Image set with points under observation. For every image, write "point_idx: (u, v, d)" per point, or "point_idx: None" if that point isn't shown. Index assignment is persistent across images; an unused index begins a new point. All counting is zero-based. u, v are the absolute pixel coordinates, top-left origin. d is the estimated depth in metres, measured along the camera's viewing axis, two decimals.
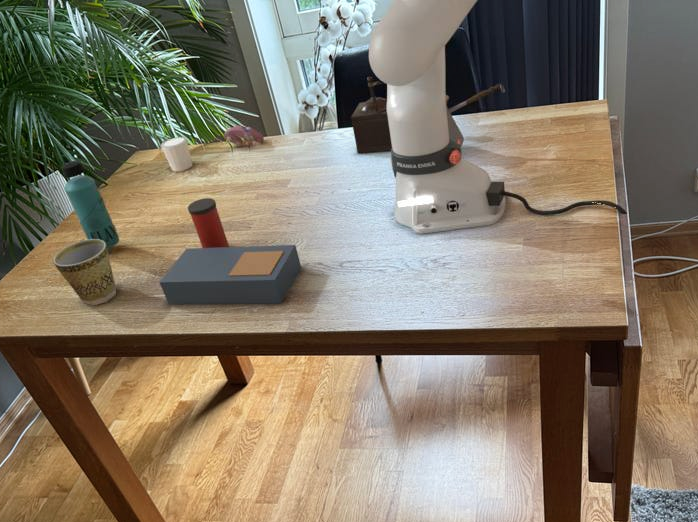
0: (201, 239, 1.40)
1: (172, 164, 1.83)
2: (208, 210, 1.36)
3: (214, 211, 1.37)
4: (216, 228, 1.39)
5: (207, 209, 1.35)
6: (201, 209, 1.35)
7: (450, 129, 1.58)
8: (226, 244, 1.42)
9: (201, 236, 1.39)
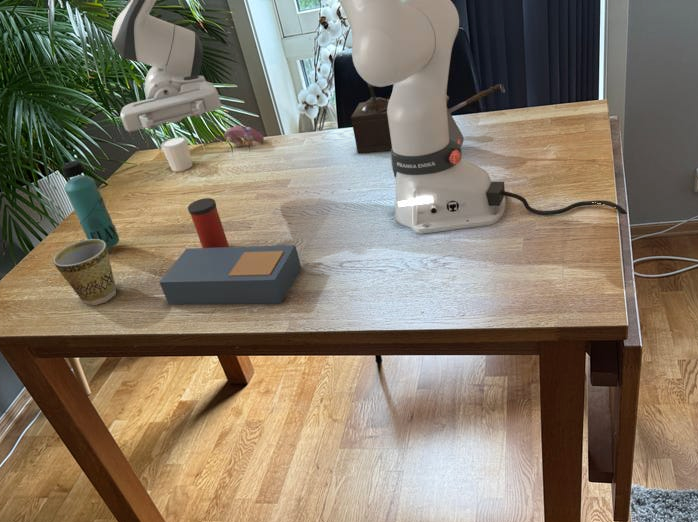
0: (201, 239, 1.40)
1: (172, 164, 1.83)
2: (208, 210, 1.36)
3: (214, 211, 1.37)
4: (216, 228, 1.39)
5: (207, 209, 1.35)
6: (201, 209, 1.35)
7: (450, 129, 1.58)
8: (226, 244, 1.42)
9: (201, 236, 1.39)
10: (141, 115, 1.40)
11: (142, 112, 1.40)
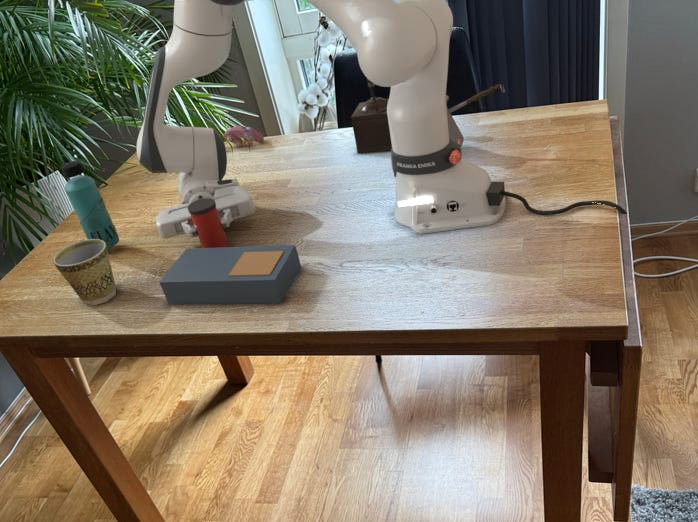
0: (201, 239, 1.40)
1: None
2: (208, 210, 1.36)
3: (214, 211, 1.37)
4: (216, 228, 1.39)
5: (207, 209, 1.35)
6: (201, 209, 1.35)
7: (450, 129, 1.58)
8: (226, 244, 1.42)
9: (201, 236, 1.39)
10: (183, 222, 1.42)
11: (178, 221, 1.42)
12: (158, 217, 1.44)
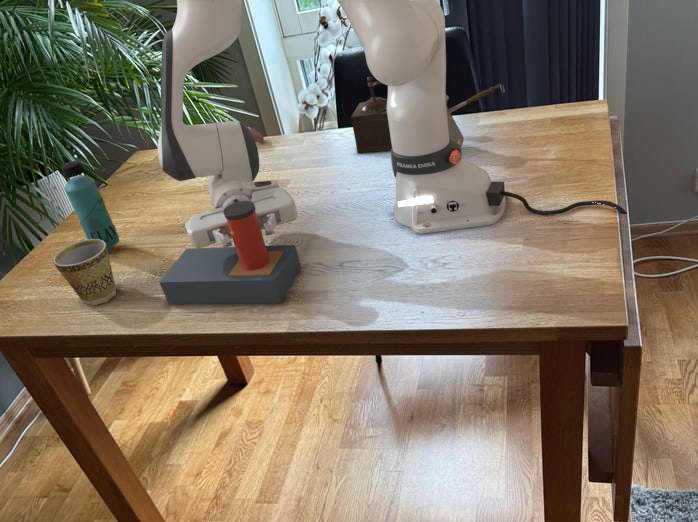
0: (238, 247, 1.23)
1: None
2: (247, 214, 1.19)
3: (253, 216, 1.20)
4: (255, 234, 1.22)
5: (246, 213, 1.19)
6: (239, 213, 1.18)
7: (450, 129, 1.58)
8: (265, 253, 1.25)
9: (238, 244, 1.22)
10: (215, 230, 1.25)
11: (212, 228, 1.25)
12: (189, 223, 1.27)
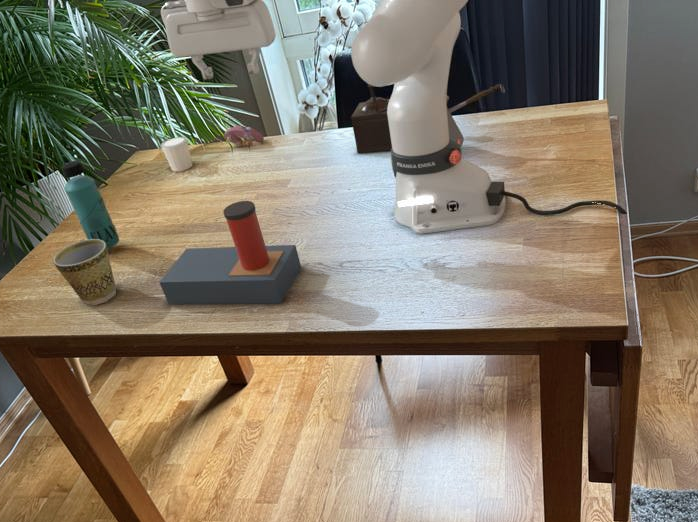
0: (238, 247, 1.23)
1: (172, 164, 1.83)
2: (247, 214, 1.19)
3: (253, 216, 1.20)
4: (255, 234, 1.22)
5: (246, 213, 1.19)
6: (239, 213, 1.18)
7: (450, 129, 1.58)
8: (265, 253, 1.25)
9: (238, 244, 1.22)
10: (194, 58, 1.30)
11: (194, 55, 1.29)
12: (169, 37, 1.28)
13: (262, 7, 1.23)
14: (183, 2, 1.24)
